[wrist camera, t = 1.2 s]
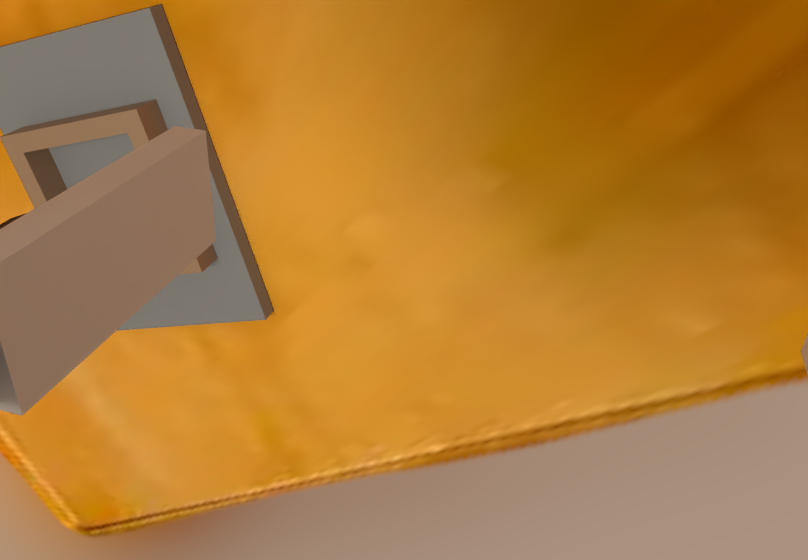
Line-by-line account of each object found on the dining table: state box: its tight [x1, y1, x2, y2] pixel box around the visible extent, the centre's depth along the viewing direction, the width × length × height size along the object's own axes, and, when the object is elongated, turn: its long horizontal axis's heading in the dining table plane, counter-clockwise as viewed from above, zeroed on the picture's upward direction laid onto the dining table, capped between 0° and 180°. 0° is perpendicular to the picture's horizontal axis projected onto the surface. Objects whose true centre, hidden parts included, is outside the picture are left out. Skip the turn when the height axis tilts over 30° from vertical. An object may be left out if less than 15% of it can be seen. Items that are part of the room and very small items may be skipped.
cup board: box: [0, 4, 273, 330], centre depth 47 cm, size 20×14×3 cm
